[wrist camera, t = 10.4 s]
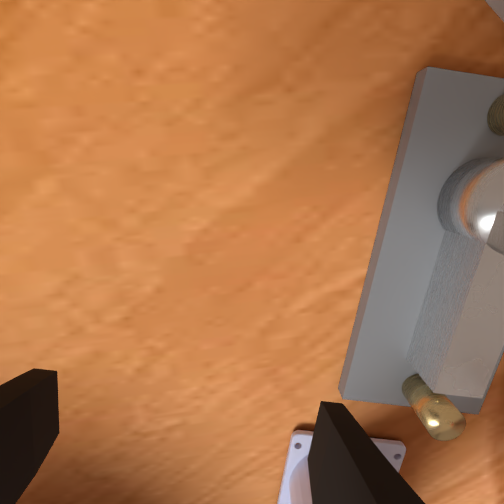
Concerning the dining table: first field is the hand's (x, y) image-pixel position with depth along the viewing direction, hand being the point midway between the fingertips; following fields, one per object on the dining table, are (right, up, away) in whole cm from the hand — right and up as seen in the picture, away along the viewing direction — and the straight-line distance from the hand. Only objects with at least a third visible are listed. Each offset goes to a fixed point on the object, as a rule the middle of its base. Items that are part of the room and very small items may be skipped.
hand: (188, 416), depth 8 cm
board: (+13, +4, +10) cm, 17 cm away
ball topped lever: (+13, +4, +9) cm, 16 cm away
